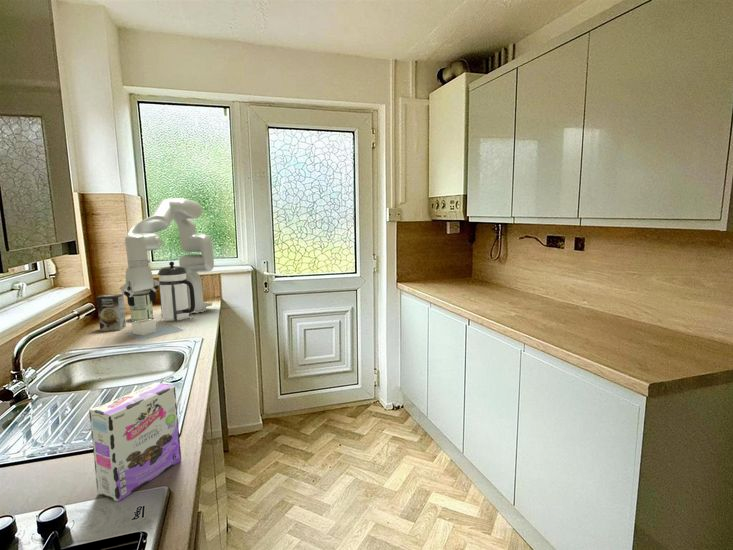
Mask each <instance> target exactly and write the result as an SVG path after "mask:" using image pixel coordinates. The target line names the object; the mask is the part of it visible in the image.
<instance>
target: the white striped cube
mask: <svg viewBox="0 0 733 550" xmlns="http://www.w3.org/2000/svg"><path fill="white" fill-rule="evenodd" d="M156 325H157V323H156V320H154V319H151V320H149V319H144V320H140V321H136V322H135V321H131V327H132V332H133V334H138V335H146V334H149V333H153V332H156V327H157V326H156Z"/></svg>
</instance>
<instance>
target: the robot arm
mask: <svg viewBox="0 0 733 550" xmlns="http://www.w3.org/2000/svg"><path fill="white" fill-rule="evenodd" d="M202 214H203V208H202V205H201V204H200V203H199V202H198V201H195V200H191V199H187V198H181V197H180V198H175V197H174V198H173V197H172V198H171V197H170V198H164V199H162V200H160V201H159V203H158V205H157V206H156V208H155V209H154V210H153V212H152V213H151V215H150V216H148V217H146V218H145V219H143V220H140V221H139V222H138V223H135V224H134V225H133V226H132V227H131V229H130V230H129V231H128V233H127V234H126V236H125V238H124V243H125V251H126V260H127V268H126V269H125V276H124V277H125V280H124V281H125V283H124V284H123V285H122V286H121V287H119V290H120V292H121V294H123V296H124V297H126V298H127V304H128V306H129V307H130V306H135V303H134V297H132V296H133V294H134V292H137V291H144V290H148V291H150V292H149V298H150V301H152V302H156V301H157V300H156V298H157V296H156V292H157V289H158V288H159V283H160V281H159V279H158V280H157V279H154V277H153V276H154V275H153V273H152V269H151V266H149V264H151V260H150V259H148V252H149V251H157V250H158V249H160V248H161V246H162V244H163V243H162V238H161V236H160V235H158V234H156V233H158V232H161V231H163V230H166V229H168V227H169V226H170V225H171V223H172V221H174V222H175V224H176V225H177V228H178V229H177V230H178V235H179V245H180V249H181V250H182V251H183V252H187V254H183V255H182V256H181V257H180V258H179V260H178V261H179V262H178V263H179V265H178V266H180V267H183V268H184V269H185V270H186V271H187V273H186V278H187V281H190V282H191V283H192V285H193V288H194V296H195V309H194V311H193V312H190V315H193V314H192V313H196V314H200V313H199V312H202V313H205V312H207V311H208V309H207V307H212V306H213V303H212V301H211V302H205V301H204V296H203V295H204V291H203V280H202V278H201V276H200V274H199V273H205V272H211V271H212V270H213V269H214V268H215V267H214V265H215V264H214V263H215V261H214V249H213V242H212V239H211V237H210V235H208V234H205V233H197V226H196V223H195V222H194V220H193V219H199V218H200V217H201V216H202ZM188 253H189V254H188ZM191 253H192V254H191ZM193 253H194V254H193ZM196 253H197V254H196ZM199 253H200V254H199ZM187 287H188V291H187V293H188V299H189V304H188V306H189V309H190V308H191V300H190V289H189V286H188V285H187ZM206 310H207V311H206ZM204 311H205V312H204Z"/></svg>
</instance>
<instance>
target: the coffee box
mask: <svg viewBox="0 0 733 550" xmlns="http://www.w3.org/2000/svg"><path fill="white" fill-rule="evenodd" d="M124 297H125V295H124V294H123V293H120V294H118V293H116V294H113V293H111V294H101V295H98V296H97V297H96V301H97V313H98V314H97V315H98V321H99V323H98V324H99V331H100V332H107V331H108V332H109V330H112V331H122V330H123V329H125V328H127V321H126V311H125V310H126V309H125V300H124ZM124 327H125V328H124ZM121 329H122V330H121Z"/></svg>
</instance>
